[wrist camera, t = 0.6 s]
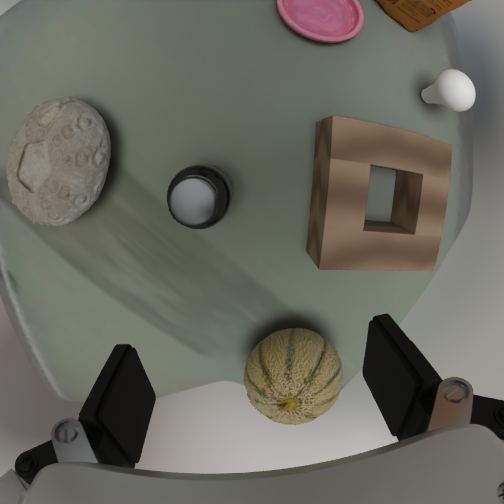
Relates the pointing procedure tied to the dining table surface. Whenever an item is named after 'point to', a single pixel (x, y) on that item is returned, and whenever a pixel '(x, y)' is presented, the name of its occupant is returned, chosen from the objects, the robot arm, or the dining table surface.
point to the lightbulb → (451, 91)
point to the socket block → (356, 191)
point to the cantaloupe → (293, 376)
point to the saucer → (323, 18)
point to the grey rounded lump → (58, 161)
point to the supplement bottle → (199, 196)
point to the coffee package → (418, 11)
